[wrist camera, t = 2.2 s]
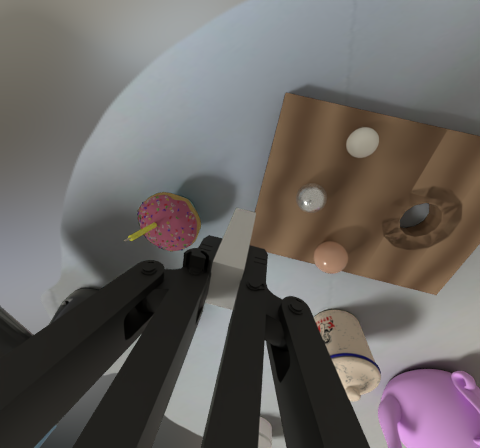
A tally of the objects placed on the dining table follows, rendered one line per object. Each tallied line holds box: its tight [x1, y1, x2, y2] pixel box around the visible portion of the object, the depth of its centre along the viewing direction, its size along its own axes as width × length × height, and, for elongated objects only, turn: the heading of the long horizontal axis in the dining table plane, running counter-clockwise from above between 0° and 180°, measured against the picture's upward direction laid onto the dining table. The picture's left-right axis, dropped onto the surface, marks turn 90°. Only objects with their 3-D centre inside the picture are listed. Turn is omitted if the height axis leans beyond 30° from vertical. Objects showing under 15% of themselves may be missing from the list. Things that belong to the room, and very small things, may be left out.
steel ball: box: [296, 183, 327, 213], centre depth 26 cm, size 4×4×4 cm
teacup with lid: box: [314, 310, 381, 401], centre depth 36 cm, size 12×9×12 cm
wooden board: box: [250, 93, 480, 295], centre depth 29 cm, size 28×20×2 cm
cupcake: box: [123, 192, 201, 251], centre depth 29 cm, size 9×8×12 cm
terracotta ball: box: [314, 241, 348, 274], centre depth 29 cm, size 4×4×4 cm
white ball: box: [346, 127, 379, 158], centre depth 23 cm, size 3×3×3 cm
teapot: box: [378, 369, 480, 448], centre depth 39 cm, size 22×22×14 cm
